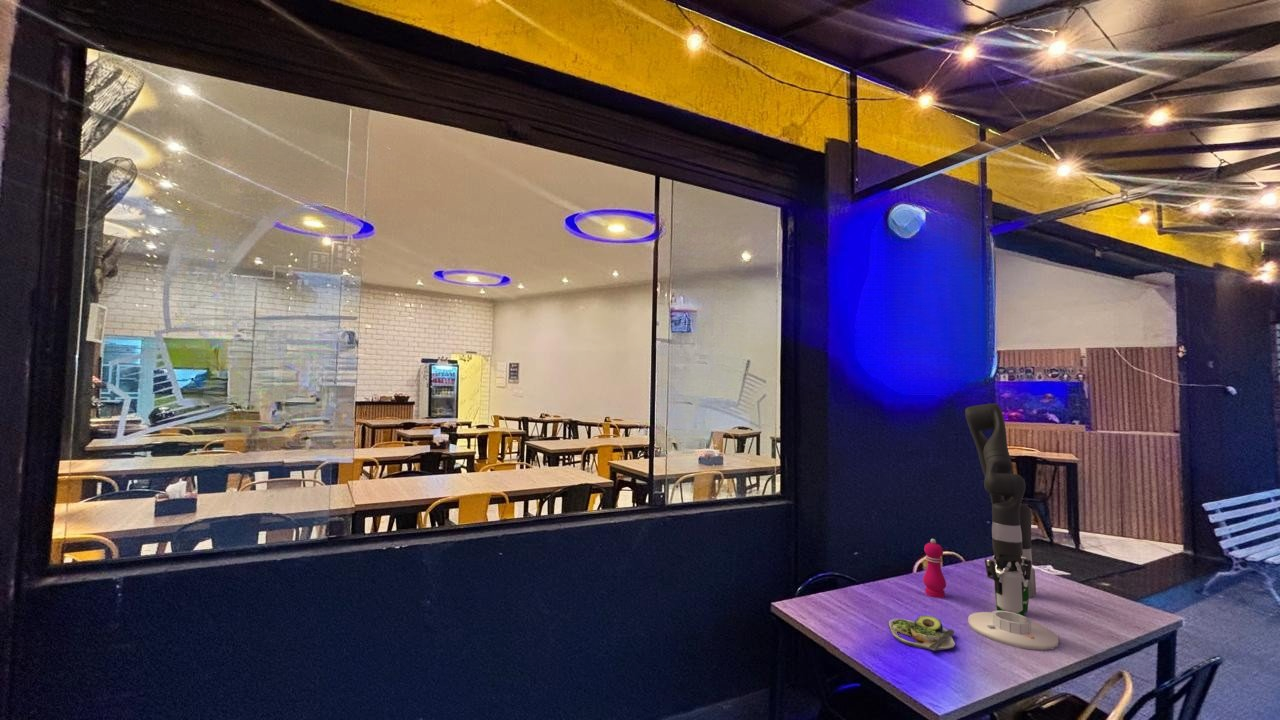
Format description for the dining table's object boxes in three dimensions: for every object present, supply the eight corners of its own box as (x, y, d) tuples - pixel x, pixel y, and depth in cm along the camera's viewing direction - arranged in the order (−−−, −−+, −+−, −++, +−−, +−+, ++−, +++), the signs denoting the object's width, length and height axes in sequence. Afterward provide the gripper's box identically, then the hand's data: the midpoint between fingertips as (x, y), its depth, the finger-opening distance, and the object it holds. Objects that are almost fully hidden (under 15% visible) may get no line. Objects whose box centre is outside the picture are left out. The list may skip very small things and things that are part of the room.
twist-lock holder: (1014, 616, 162) (1013, 602, 163) (1079, 649, 141) (1078, 632, 141) (952, 617, 160) (951, 603, 161) (1008, 651, 139) (1007, 634, 139)
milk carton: (999, 603, 173) (997, 545, 175) (1031, 612, 166) (1028, 551, 168) (992, 610, 167) (990, 549, 169) (1025, 619, 160) (1022, 556, 162)
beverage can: (1023, 609, 151) (1021, 569, 153) (1022, 615, 147) (1020, 574, 148) (998, 603, 156) (996, 564, 157) (995, 609, 151) (994, 569, 152)
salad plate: (967, 662, 133) (966, 644, 133) (893, 649, 139) (893, 632, 140) (951, 632, 151) (951, 616, 151) (887, 621, 157) (886, 606, 158)
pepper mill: (919, 592, 182) (917, 537, 184) (932, 589, 185) (930, 535, 187) (938, 599, 175) (936, 542, 177) (951, 596, 178) (948, 540, 180)
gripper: (1017, 534, 158) (1020, 588, 156) (976, 534, 156) (978, 589, 155) (1038, 541, 150) (1041, 598, 149) (995, 541, 149) (997, 599, 147)
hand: (1009, 593), depth 152 cm, fingers closed on beverage can, 6 cm apart
